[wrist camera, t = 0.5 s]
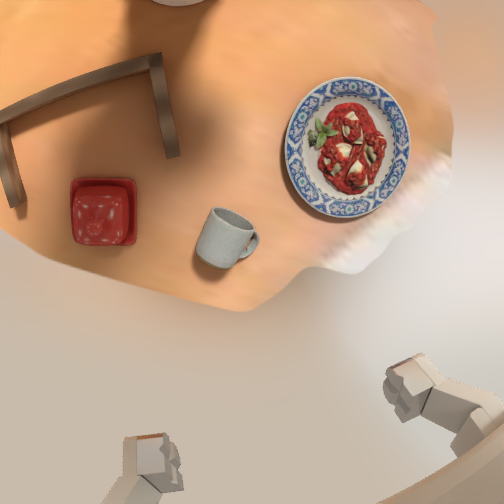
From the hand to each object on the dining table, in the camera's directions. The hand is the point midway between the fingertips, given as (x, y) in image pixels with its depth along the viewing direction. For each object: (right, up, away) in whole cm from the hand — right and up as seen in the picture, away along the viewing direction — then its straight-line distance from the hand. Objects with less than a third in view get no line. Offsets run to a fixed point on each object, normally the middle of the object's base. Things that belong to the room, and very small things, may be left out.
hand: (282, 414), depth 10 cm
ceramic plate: (+16, +24, +44) cm, 52 cm away
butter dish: (-25, +13, +39) cm, 48 cm away
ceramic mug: (-5, +9, +46) cm, 47 cm away
